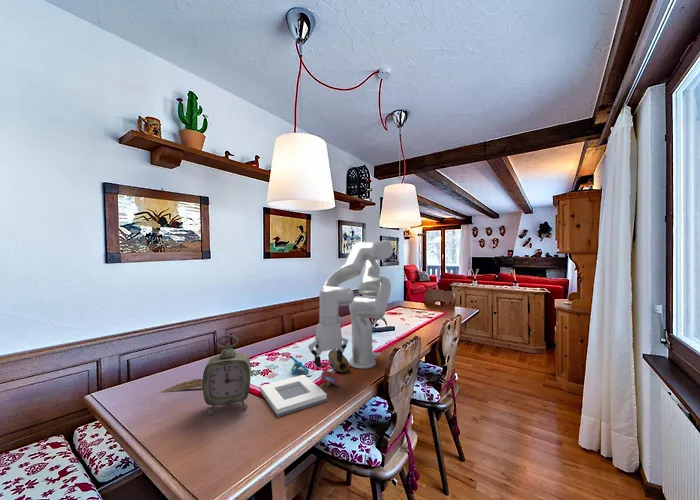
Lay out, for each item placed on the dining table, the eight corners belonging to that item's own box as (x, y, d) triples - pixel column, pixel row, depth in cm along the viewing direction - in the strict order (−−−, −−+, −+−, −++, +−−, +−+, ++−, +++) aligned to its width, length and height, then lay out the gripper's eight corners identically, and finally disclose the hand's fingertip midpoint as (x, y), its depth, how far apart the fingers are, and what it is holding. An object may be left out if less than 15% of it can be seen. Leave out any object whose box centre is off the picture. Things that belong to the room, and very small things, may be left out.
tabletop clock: (203, 418, 95) (201, 341, 95) (208, 404, 104) (207, 333, 104) (250, 411, 99) (249, 336, 99) (251, 398, 107) (250, 329, 108)
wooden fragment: (233, 375, 129) (233, 372, 129) (232, 385, 119) (232, 383, 119) (165, 385, 120) (165, 383, 120) (158, 398, 110) (158, 395, 110)
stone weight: (325, 363, 140) (325, 349, 140) (339, 360, 143) (339, 347, 143) (337, 375, 127) (336, 359, 127) (352, 372, 129) (351, 357, 129)
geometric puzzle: (343, 375, 120) (331, 360, 120) (344, 383, 114) (331, 367, 113) (329, 386, 120) (317, 371, 120) (329, 395, 113) (316, 378, 113)
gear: (312, 371, 126) (295, 357, 125) (303, 383, 124) (285, 369, 122) (306, 366, 136) (290, 352, 135) (297, 377, 134) (281, 363, 132)
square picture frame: (304, 380, 121) (304, 374, 121) (326, 400, 105) (326, 393, 105) (260, 392, 112) (259, 385, 112) (277, 417, 95) (277, 409, 95)
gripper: (342, 316, 124) (342, 357, 124) (304, 321, 115) (304, 365, 115) (352, 319, 118) (352, 362, 117) (313, 324, 109) (312, 371, 108)
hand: (328, 364), depth 116 cm, fingers open, 9 cm apart
